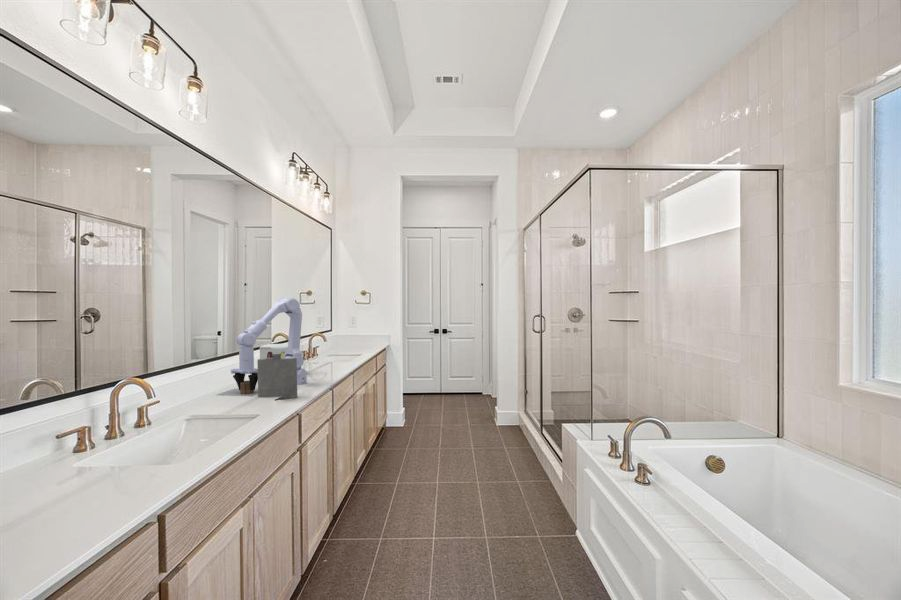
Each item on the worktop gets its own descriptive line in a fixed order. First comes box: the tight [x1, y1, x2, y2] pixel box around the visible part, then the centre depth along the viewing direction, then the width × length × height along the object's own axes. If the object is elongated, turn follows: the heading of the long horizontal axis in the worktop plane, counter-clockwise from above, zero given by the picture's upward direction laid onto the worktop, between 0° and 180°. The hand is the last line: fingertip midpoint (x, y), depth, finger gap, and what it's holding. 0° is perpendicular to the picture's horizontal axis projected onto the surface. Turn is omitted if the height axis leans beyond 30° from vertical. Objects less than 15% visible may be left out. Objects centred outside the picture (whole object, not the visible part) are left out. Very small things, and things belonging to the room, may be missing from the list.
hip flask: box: [256, 353, 298, 401], centre depth 160 cm, size 16×4×20 cm, turn 100°
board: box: [216, 388, 258, 397], centre depth 167 cm, size 18×12×2 cm, turn 81°
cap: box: [240, 380, 254, 394], centre depth 165 cm, size 5×5×5 cm
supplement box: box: [259, 343, 288, 359], centre depth 209 cm, size 17×13×18 cm
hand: (247, 389), depth 165 cm, fingers closed on cap, 5 cm apart
